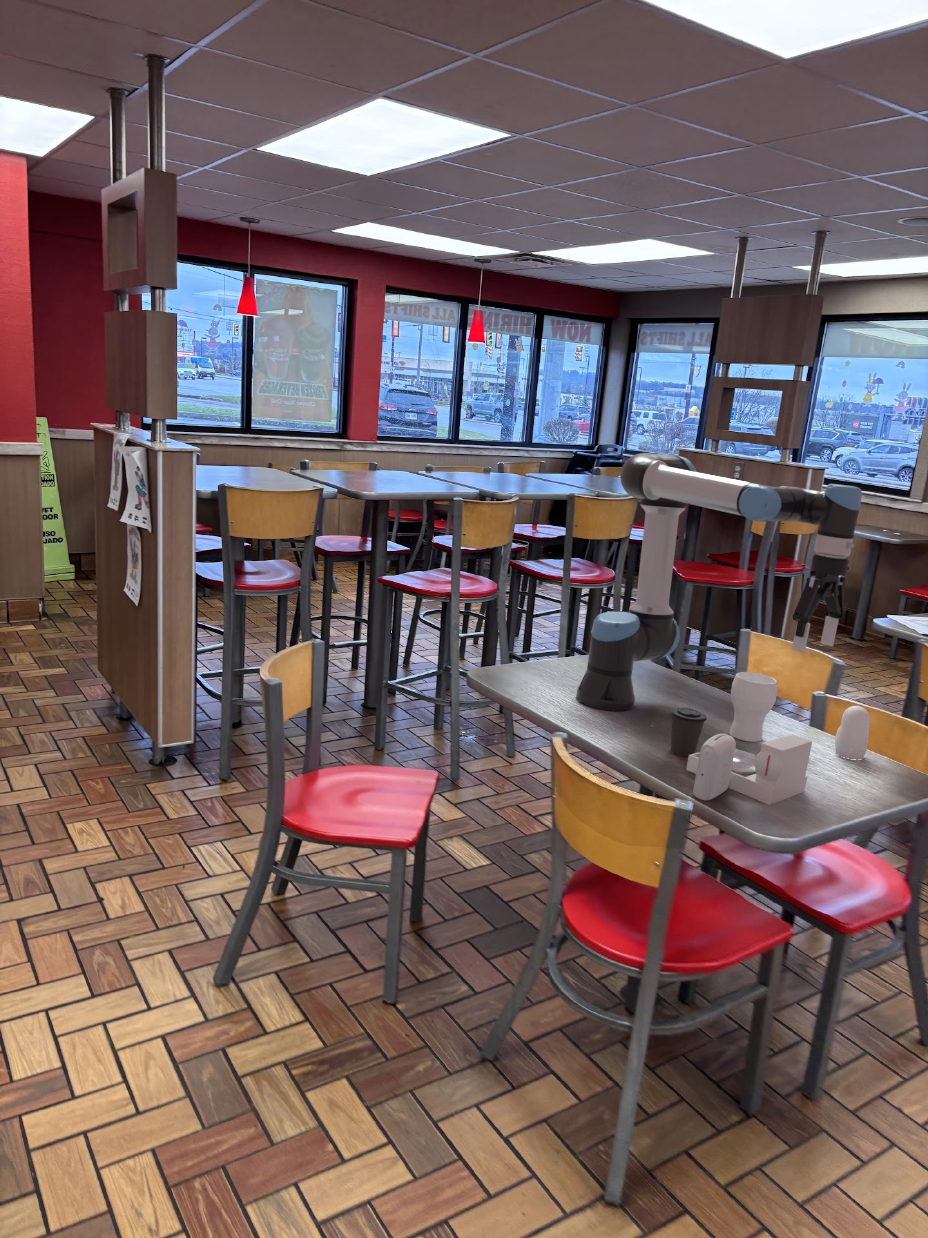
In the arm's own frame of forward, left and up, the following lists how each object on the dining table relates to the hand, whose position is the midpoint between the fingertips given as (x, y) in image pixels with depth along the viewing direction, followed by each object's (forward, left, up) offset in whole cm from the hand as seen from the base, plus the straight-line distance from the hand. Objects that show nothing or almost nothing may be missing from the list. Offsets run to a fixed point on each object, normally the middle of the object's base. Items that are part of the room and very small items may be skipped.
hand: (812, 647), depth 205 cm
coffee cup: (-14, -23, -27) cm, 38 cm away
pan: (0, -24, -25) cm, 35 cm away
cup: (-13, +2, -27) cm, 30 cm away
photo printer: (+3, -37, -27) cm, 46 cm away
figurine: (+7, +15, -27) cm, 31 cm away
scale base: (+3, -24, -26) cm, 36 cm away
